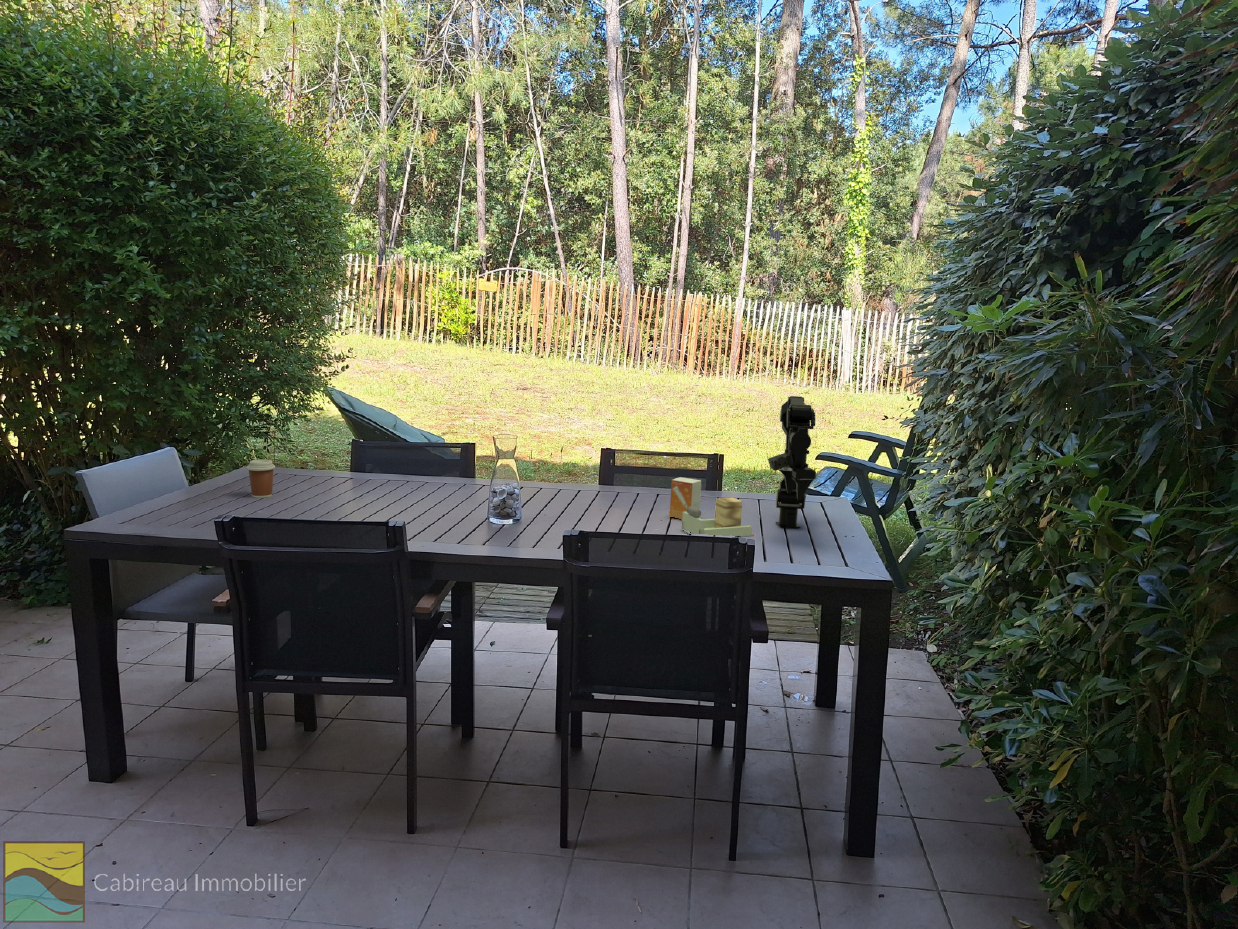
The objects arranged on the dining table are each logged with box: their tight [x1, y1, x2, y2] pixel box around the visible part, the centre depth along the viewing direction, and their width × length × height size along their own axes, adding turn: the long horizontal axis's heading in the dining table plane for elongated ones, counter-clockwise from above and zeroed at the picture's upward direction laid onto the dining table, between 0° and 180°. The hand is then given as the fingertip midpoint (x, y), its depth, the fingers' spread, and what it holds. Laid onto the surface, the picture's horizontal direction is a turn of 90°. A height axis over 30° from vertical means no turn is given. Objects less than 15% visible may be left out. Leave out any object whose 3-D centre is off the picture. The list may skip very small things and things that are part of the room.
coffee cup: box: [246, 458, 276, 499], centre depth 300 cm, size 9×9×12 cm
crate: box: [714, 497, 743, 528], centre depth 274 cm, size 6×6×10 cm
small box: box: [669, 476, 702, 520], centre depth 290 cm, size 8×6×13 cm
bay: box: [681, 506, 755, 538], centre depth 273 cm, size 19×12×8 cm, turn 114°
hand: (794, 496), depth 269 cm, fingers open, 9 cm apart
